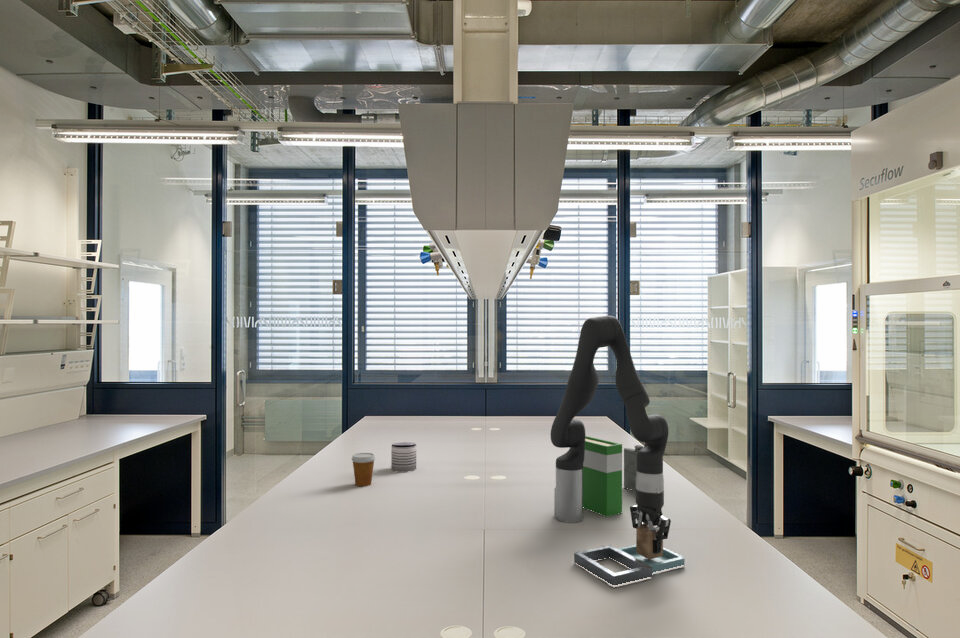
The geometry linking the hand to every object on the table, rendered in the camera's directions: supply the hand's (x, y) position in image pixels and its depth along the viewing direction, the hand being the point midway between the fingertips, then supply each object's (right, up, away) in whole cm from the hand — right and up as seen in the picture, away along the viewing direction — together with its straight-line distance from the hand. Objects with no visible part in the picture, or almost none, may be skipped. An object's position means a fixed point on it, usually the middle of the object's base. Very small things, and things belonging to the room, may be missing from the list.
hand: (649, 549), depth 161 cm
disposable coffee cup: (-94, -4, +77) cm, 122 cm away
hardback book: (-5, -4, +47) cm, 48 cm away
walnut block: (0, -1, 0) cm, 1 cm away
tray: (0, -4, 0) cm, 4 cm away
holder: (-12, -4, -6) cm, 14 cm away
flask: (+16, -5, +69) cm, 71 cm away
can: (-81, -5, +103) cm, 131 cm away
